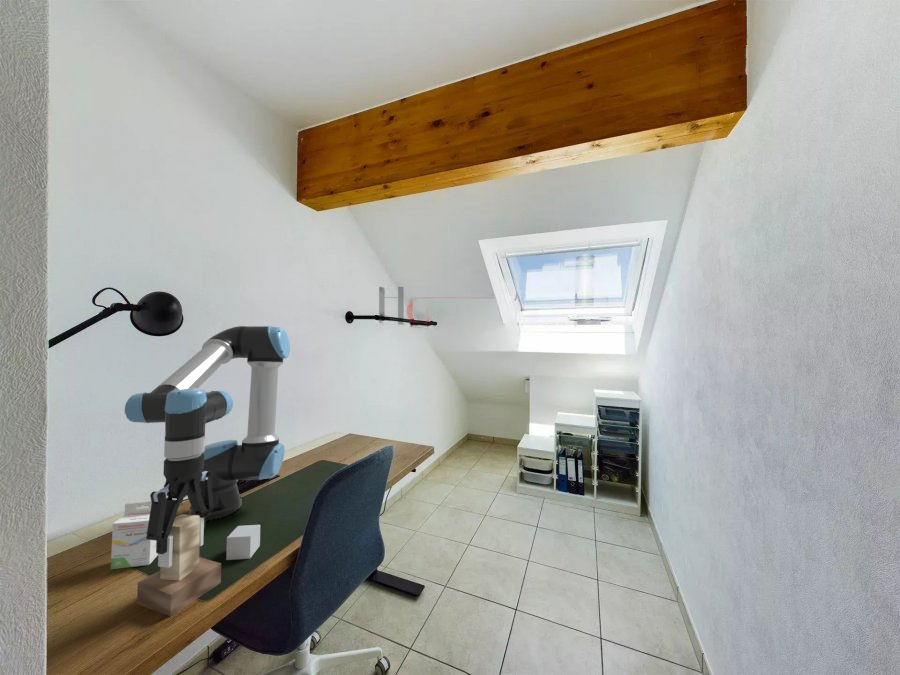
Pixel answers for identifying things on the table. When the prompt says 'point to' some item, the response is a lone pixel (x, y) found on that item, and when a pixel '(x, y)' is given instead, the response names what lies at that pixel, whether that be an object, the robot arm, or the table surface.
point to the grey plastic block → (243, 542)
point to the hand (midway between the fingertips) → (181, 554)
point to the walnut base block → (178, 588)
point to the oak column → (183, 547)
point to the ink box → (132, 538)
